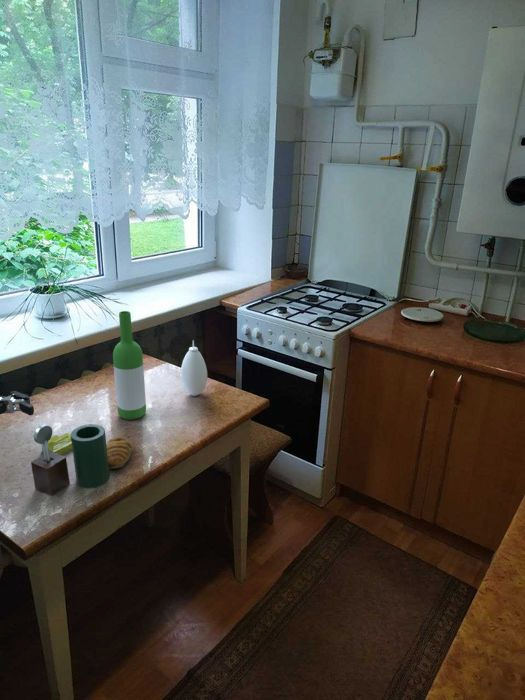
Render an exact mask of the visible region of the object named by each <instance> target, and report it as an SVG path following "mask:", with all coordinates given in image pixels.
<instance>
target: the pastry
mask: <svg viewBox="0 0 525 700" xmlns="http://www.w3.org/2000/svg"><path fill="white" fill-rule="evenodd" d="M106 446H107V456H108V466H109V470H113V469H119V468H123V467H124V466H125V464H126V463H127V462H128V461H129V460H130V457H131V455H132V449H133V444H131V442H130V441H129V440H128V439H127V438H125V437H123V436H116V437H114V438H111V439H109V440H108V441H106Z"/></svg>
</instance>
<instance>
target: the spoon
mask: <svg viewBox="0 0 525 700" xmlns="http://www.w3.org/2000/svg"><path fill="white" fill-rule="evenodd" d="M51 437H53V428H52V427H51V426H50V425H48V424H41V425H39V426H38V427H37V428H36V429H35V431H34V434H33V440H34V442H35V443H37V444H39V445H41V444H42V445H41V449H42V448H43V450H42V452H43V455H44V458H45V462H50V461H51V457H50V451H49V446H48V441H50V438H51Z"/></svg>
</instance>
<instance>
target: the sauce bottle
mask: <svg viewBox="0 0 525 700" xmlns="http://www.w3.org/2000/svg"><path fill="white" fill-rule="evenodd" d="M180 382H181V386H182V388H183V390H184V392H185V393H187V394H188V395H189V396H192V397H197V396H198V395H199V396H200V394H201V393H203V392H204V391H205V389H206V387H207V384H208V369H207V365H206V361H205V359H204V357H203V355H202V354H201V351H199V348H198V347H197V346H195V340H194V339H193V340H192V346H191V347H189V348H188V351H187V352H186V354H185V356H184V358H183V360H182V363H181V368H180Z"/></svg>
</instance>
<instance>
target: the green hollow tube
mask: <svg viewBox="0 0 525 700" xmlns="http://www.w3.org/2000/svg"><path fill="white" fill-rule="evenodd" d="M70 435H71V442H72V449H73V450H72V457H73V464H74V471H75V479H76V483H77V485H78V486H79V487H81V488H85V489H93V488H97V487H100V486H103V485H104V484H106V483H107V482H108V481H109V479H110V469H109V466H108V456H107V446H106V445H107V438H106V437H107V436H106V428H105V427H104V426H102V425H100V424H95V423H89V424H83V425H80V426H78V427H75V428H74V429H73V430H72V431H71V432H70Z"/></svg>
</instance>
